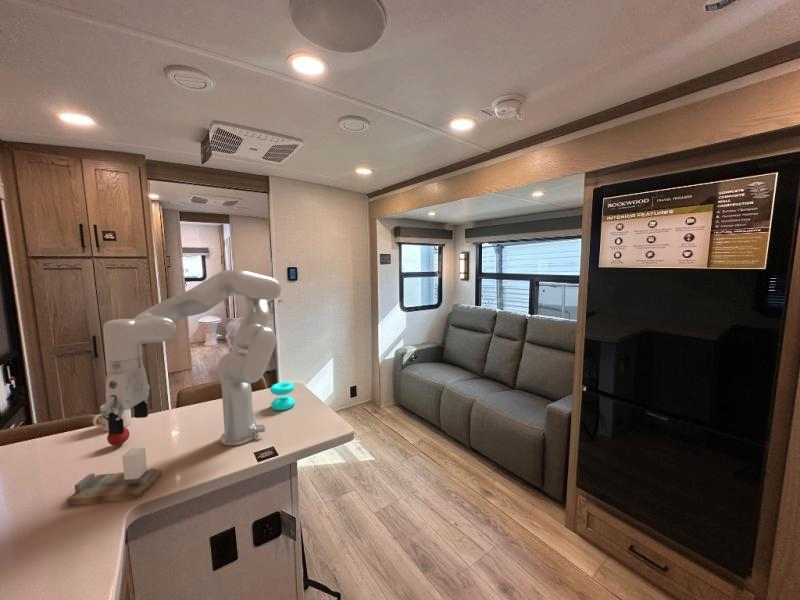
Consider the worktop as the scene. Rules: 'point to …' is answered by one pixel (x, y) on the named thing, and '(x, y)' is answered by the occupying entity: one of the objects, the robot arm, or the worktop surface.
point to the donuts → (285, 401)
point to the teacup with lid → (125, 415)
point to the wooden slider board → (111, 488)
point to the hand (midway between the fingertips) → (129, 425)
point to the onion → (118, 438)
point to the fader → (134, 465)
